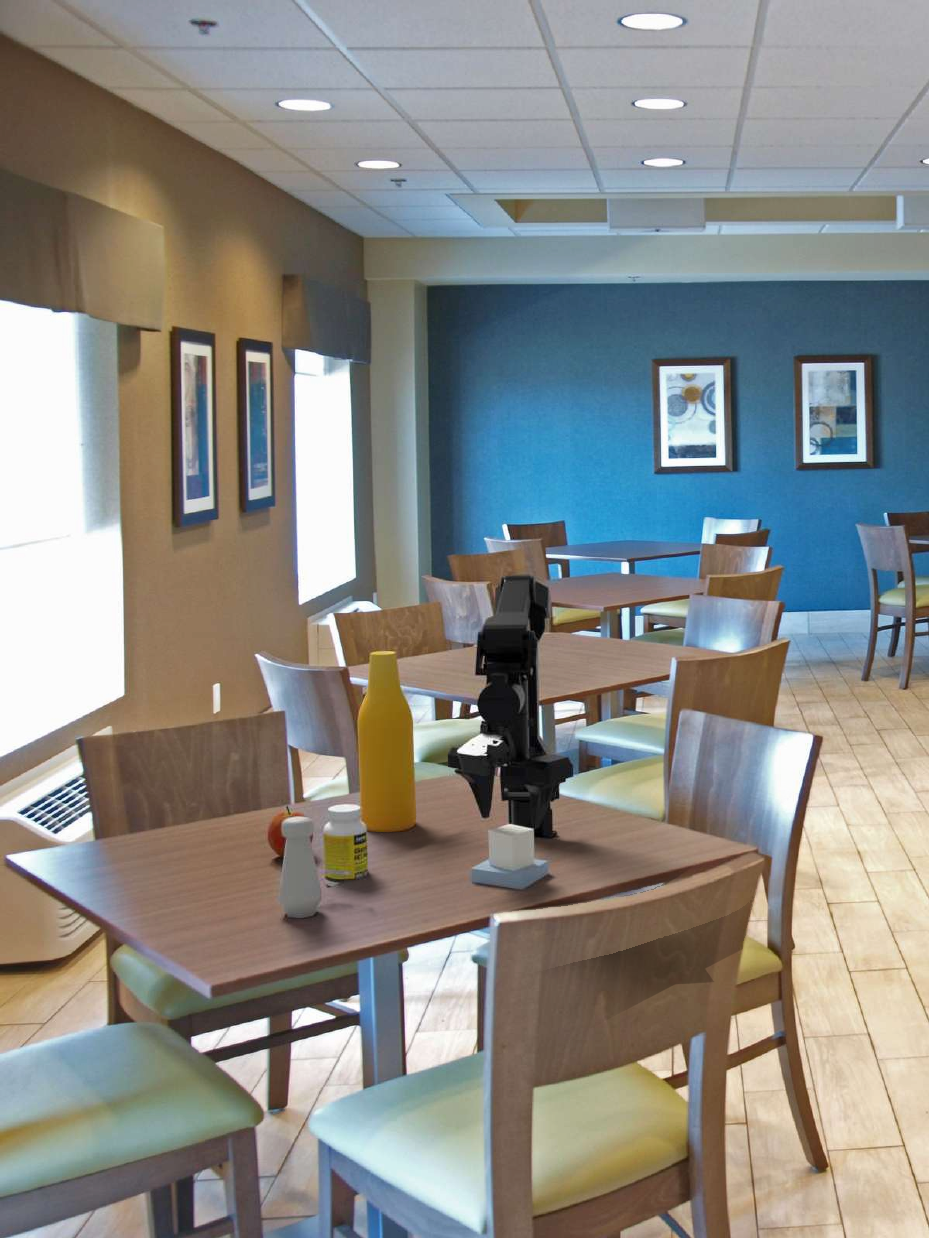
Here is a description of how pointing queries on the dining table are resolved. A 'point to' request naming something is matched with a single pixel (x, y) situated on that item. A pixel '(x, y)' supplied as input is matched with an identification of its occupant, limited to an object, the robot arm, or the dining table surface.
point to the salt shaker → (299, 870)
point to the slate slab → (509, 874)
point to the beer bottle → (386, 750)
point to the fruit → (275, 833)
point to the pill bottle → (345, 845)
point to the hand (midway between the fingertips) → (510, 822)
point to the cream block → (511, 847)
